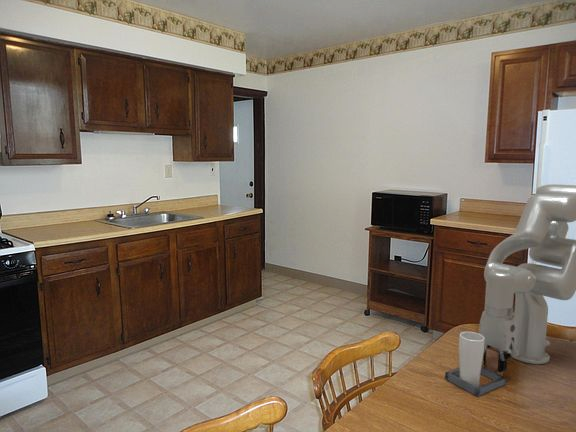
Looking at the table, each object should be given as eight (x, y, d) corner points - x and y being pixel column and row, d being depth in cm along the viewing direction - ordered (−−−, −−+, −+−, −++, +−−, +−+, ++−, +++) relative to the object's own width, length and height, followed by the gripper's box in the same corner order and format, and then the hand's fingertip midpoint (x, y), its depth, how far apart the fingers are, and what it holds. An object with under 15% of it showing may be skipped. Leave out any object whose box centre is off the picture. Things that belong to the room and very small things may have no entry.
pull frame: (481, 365, 133) (482, 341, 132) (514, 380, 123) (515, 355, 122) (445, 378, 124) (446, 353, 123) (477, 396, 115) (479, 369, 114)
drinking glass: (484, 392, 117) (487, 342, 115) (458, 389, 119) (461, 339, 117) (479, 379, 124) (482, 332, 122) (455, 377, 125) (457, 330, 124)
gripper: (533, 317, 119) (528, 376, 122) (481, 300, 134) (478, 353, 136) (517, 322, 116) (513, 383, 118) (466, 304, 130) (463, 359, 132)
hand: (494, 367), depth 127 cm, fingers closed on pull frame, 4 cm apart
